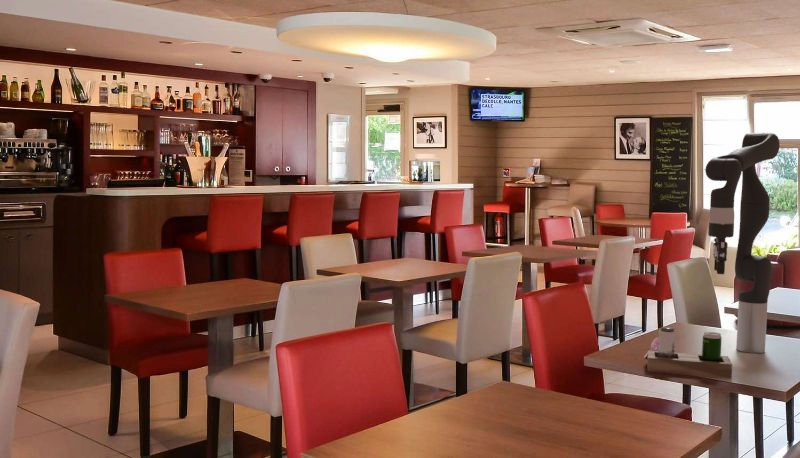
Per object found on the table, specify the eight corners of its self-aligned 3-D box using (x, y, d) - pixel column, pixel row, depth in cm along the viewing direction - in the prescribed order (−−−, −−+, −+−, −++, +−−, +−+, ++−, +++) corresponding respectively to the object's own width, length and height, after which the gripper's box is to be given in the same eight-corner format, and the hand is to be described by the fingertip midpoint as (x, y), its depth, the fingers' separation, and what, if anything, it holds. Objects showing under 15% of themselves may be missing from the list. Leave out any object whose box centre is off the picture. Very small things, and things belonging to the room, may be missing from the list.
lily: (657, 356, 279) (644, 331, 279) (687, 348, 271) (673, 323, 271) (642, 373, 271) (628, 347, 271) (673, 365, 263) (658, 339, 263)
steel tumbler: (657, 366, 258) (659, 326, 257) (673, 367, 257) (675, 327, 256) (657, 370, 254) (659, 329, 252) (674, 371, 252) (676, 330, 251)
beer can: (712, 375, 248) (714, 336, 247) (697, 371, 253) (699, 332, 252) (723, 372, 251) (725, 334, 250) (708, 369, 256) (710, 331, 255)
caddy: (647, 365, 262) (647, 350, 262) (727, 371, 255) (728, 356, 255) (647, 373, 251) (648, 358, 251) (731, 380, 245) (732, 364, 245)
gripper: (706, 219, 268) (704, 269, 270) (710, 222, 255) (708, 274, 256) (731, 220, 266) (729, 270, 268) (736, 223, 253) (734, 275, 254)
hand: (719, 272), depth 262 cm, fingers open, 8 cm apart
